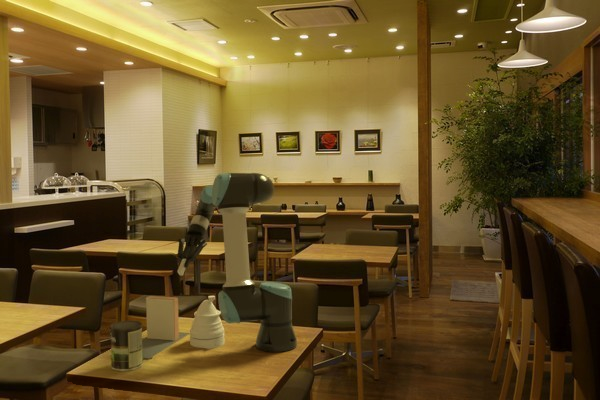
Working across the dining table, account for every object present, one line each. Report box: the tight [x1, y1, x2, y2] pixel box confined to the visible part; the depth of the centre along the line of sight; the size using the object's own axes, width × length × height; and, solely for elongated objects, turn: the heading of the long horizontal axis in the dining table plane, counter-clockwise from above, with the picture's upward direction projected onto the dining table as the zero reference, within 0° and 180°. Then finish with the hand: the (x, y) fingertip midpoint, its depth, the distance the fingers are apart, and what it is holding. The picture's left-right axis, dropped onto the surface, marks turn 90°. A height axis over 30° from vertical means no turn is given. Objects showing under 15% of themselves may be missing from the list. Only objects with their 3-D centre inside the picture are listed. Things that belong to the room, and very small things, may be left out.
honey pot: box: [189, 295, 226, 350], centre depth 210 cm, size 13×13×18 cm
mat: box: [142, 331, 190, 360], centre depth 209 cm, size 30×14×1 cm, turn 164°
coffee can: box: [109, 320, 144, 372], centre depth 187 cm, size 10×10×14 cm
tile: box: [145, 295, 180, 341], centre depth 215 cm, size 3×12×16 cm, turn 73°
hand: (180, 273), depth 228 cm, fingers closed
